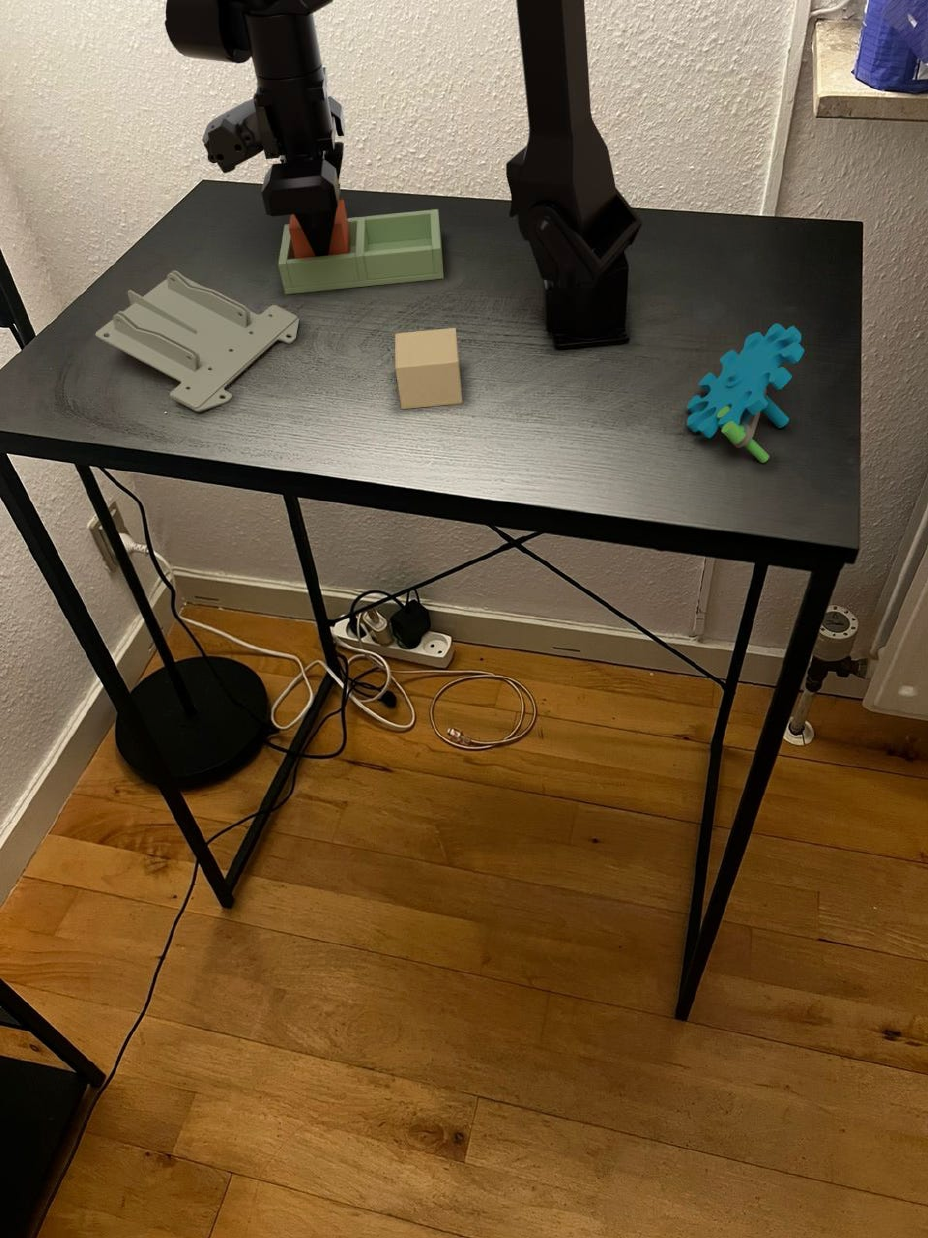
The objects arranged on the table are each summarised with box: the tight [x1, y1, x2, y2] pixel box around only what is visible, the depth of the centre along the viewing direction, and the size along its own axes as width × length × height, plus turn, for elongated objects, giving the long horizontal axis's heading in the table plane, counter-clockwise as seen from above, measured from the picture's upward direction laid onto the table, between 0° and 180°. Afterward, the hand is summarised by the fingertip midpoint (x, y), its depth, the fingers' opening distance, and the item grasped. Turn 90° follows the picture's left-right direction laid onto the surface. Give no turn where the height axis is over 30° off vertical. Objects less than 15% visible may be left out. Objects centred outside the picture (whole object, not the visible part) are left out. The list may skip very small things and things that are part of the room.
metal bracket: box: [95, 270, 300, 413], centre depth 84 cm, size 14×6×15 cm
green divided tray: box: [277, 208, 445, 295], centre depth 92 cm, size 15×8×3 cm, turn 93°
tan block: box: [394, 327, 463, 410], centre depth 77 cm, size 5×5×4 cm
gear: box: [686, 323, 805, 464], centre depth 70 cm, size 11×6×10 cm
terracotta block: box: [288, 199, 351, 259], centre depth 91 cm, size 5×5×4 cm
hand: (323, 243), depth 91 cm, fingers closed on terracotta block, 5 cm apart
